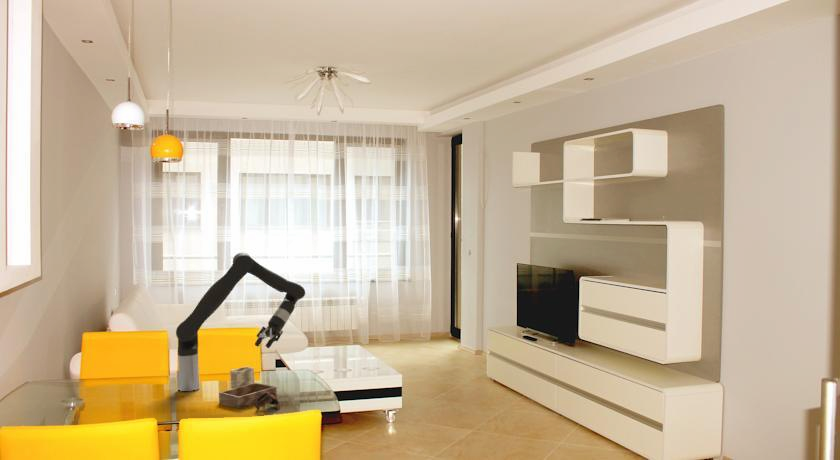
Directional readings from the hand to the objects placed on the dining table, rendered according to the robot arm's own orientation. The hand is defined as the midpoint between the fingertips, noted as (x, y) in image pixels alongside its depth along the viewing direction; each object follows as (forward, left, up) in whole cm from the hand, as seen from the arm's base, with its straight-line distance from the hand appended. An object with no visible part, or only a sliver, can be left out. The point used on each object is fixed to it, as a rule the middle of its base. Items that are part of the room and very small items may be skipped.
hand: (261, 346), depth 314 cm
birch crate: (-5, -11, -20) cm, 23 cm away
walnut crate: (+5, -24, -20) cm, 31 cm away
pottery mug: (+20, -34, -20) cm, 44 cm away
